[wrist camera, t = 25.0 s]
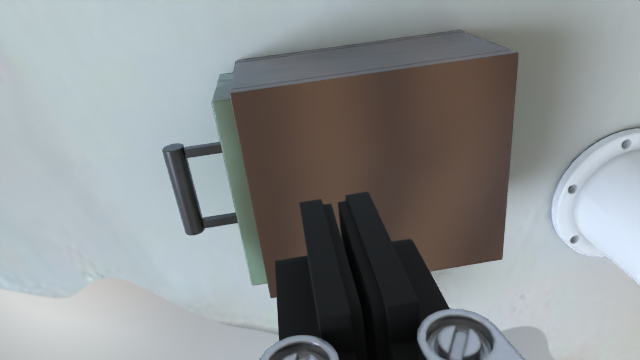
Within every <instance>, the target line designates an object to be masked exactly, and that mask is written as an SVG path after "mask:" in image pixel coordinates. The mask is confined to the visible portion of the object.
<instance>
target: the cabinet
mask: <svg viewBox="0 0 640 360" xmlns="http://www.w3.org/2000/svg"><path fill="white" fill-rule="evenodd" d="M517 66H518V52H515V51H513V50H510V49H507V48H505V47H502V46H500V45H497V44H494V43H492V42H489V41H487V40H484V39H482V38H479V37H477V36H474V35H472V34H469V33H466V32H464V31H462V30H456V31H449V32H442V33H434V34H427V35H420V36H413V37H405V38H398V39H391V40H383V41H376V42H369V43H362V44H354V45H347V46H340V47H332V48H325V49H318V50H310V51H303V52H296V53H289V54H281V55H274V56H267V57H259V58H252V59H245V60H238V61H236V62H235V68H234V73H233V79H232V84H231V90H230V99H231V104H232V109H233V114H234V119H235V124H236V129H237V134H238V139H239V144H240V149H241V154H242V159H243V164H244V169H245V173H246V178H247V183H248V188H249V193H250V198H251V203H252V208H253V213H254V218H255V223H256V228H257V233H258V238H259V243H260V248H261V253H262V258H263V263H264V268H265V273H266V277H267V282H268V287H269V292H270V297H271V298H275V297H277V291H276V274H275V261H277V260H283V259H289V258H295V257H301V256H307V251H306V244H305V238H304V231H303V225H302V218H301V212H300V205H299V202H304V201H311V200H317V199H322V203H323V204H330V203H331V204H332V208H333V211H334V215H335V218H336V221H337V225H338V228H339V232H340V235H341V230H340V221H339V212H338V202H342V201H345V196H346V195H349V194H355V193H361V192H369V194H370V196H371V198H372V200H373V202H374V205H375V207H376V209H377V211H378V213H379V215H380V218H381V220H382V222H383V224H384V226H385V228H386V231H387V233H388V235H389V237H390V239H391V241H398V240H404V239H412V240H413V242H414V243H415V245H416V247H417V249H418V251H419V253H420V254H421V256H422V258H423V260H424V262H425V264H426V266H427V268H428V269H429V271H436V270H442V269H448V268H453V267H459V266H465V265H471V264H477V263H483V262H489V261H495V260H501V259H502V256H503V243H504V231H505V218H506V205H507V193H508V180H509V167H510V155H511V142H512V129H513V117H514V104H515V91H516V79H517Z"/></svg>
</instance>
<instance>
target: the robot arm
mask: <svg viewBox="0 0 640 360" xmlns="http://www.w3.org/2000/svg"><path fill="white" fill-rule="evenodd" d="M299 205H300V212H301V218H302V225H303V231H304V238H305V244H306V251H307V256H301V257H295V258H289V259H283V260H277V261H275V274H276V291H277V309H278V327H279V341H278V342H276V343H275V344H274V345H273V346H271V347H270V348H268V349H267V350H266V351H265V353H264V354H263V355H262V357H261V358H260V360H525V359H524V358H523V357H522V356H521V354H520V353H519V352H518V351H517V350H516V349H515V348H514V347H513V345H512V344H511V343H510V342H509V341H508V340H507V339H506V337H505V336H504V335H503V334H502V333H501V331H500V330H499V329H498V328H497V327H496V326H495V325H494V324H493V323H492V322H490V321H489V320H488V319H487V318H485V317H483V316H481V315H479V314H477V313H475V312H471V311H467V310H463V309H450V308H449V307H448V305H447V303H446V301H445V299H444V297H443V295H442V294H441V292H440V290H439V288H438V286H437V284H436V282H435V281H434V279H433V277H432V275H431V273H430V271H429V269H428V268H427V266H426V264H425V262H424V260H423V258H422V256H421V254H420V253H419V251H418V249H417V247H416V245H415V243H414V242H413V240H412V239H404V240H398V241H391V239H390V237H389V235H388V233H387V231H386V228H385V226H384V224H383V222H382V220H381V218H380V215H379V213H378V211H377V209H376V207H375V205H374V202H373V200H372V198H371V196H370V194H369V192H361V193H355V194H349V195H346V196H345V201H342V202H338V212H339V221H340V230H341V235H340V232H339V228H338V225H337V221H336V218H335V215H334V211H333V208H332V204H331V203H330V204H323V203H322V199H317V200H311V201H304V202H299ZM551 211H552V222H553V225H554V228H555V230H556V232H557V234H558V235H559V237H560V238H561V239H562V240H563V241H564V242H565V243H566V244H567V245H568V246H569V247H571V248H572V249H573V250H575V251H576V252H579V253H581V254H584V255H586V256H593V257H608V258H609V259H610V260H612V261H613V262H614V263H615V264H616V265H617V266H618V267H620V268H621V269H622V270H623V271H624V272H625V273H626V274H628V275H629V276H630V277H631V278H632V279H633V280H634V281H636V282H637V283H638V284H639V285H640V128H636V129H630V130H625V131H621V132H618V133H615V134H613V135H610V136H608V137H606V138H604V139H602V140H600V141H598V142H597V143H595V144H594V145H592V146H591V147H590V148H588V149H587V150H586V151H584V152H583V153H582V154H581V155H580V156H579V157H578V158H577V159H576V160H575V161H574V162H573V163H572V164H571V165H570V167H569V168H568V169H567V171H566V172H565V173H564V175H563V177H562V178H561V180H560V182H559V184H558V186H557V188H556V191H555V194H554V197H553V203H552V209H551Z"/></svg>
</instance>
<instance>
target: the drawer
mask: <svg viewBox="0 0 640 360" xmlns="http://www.w3.org/2000/svg"><path fill="white" fill-rule="evenodd" d="M232 79H233V73H227V74H220V76H219V79H218V83H217V86H216V90H215V93H214V97H213V100H212V107H213V112H214V116H215V121H216V125H217V130H218V134H219V139H220V142H217V143H210V144H203V145H196V146H189V147H185V148H184V145H183V144H171V145H168V146H166V147H164V148H163V149H162V152H163V155H164V159H165V162H166V166H167V169H168V173H169V176H170V180H171V183H172V187H173V190H174V194H175V197H176V201H177V205H178V208H179V212H180V215H181V219H182V222H183V226H184V229H185V233H186V234H187V235H197V234H200V233H201V232H203V231H204V229H205V228H209V227H215V226H221V225H228V224H234V223H238V225H239V229H240V234H241V238H242V243H243V247H244V252H245V256H246V261H247V265H248V270H249V274H250V279H251V283H252V285H253V286H254V285H260V284H266V283H268V282H267V277H266V273H265V268H264V263H263V258H262V253H261V248H260V243H259V238H258V233H257V228H256V223H255V218H254V213H253V208H252V203H251V198H250V193H249V188H248V183H247V178H246V173H245V169H244V164H243V159H242V154H241V149H240V144H239V139H238V134H237V129H236V124H235V119H234V114H233V109H232V104H231V99H230V90H231V84H232ZM217 153H223V157H224V161H225V166H226V170H227V175H228V180H229V184H230V189H231V193H232V198H233V202H234V207H235V211H236V213H230V214H223V215H217V216H210V217H204V218H202V214H201V210H200V206H199V202H198V198H197V195H196V191H195V187H194V183H193V179H192V175H191V171H190V168H189V164H188V160H187V158H190V157H197V156H203V155H210V154H217Z"/></svg>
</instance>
